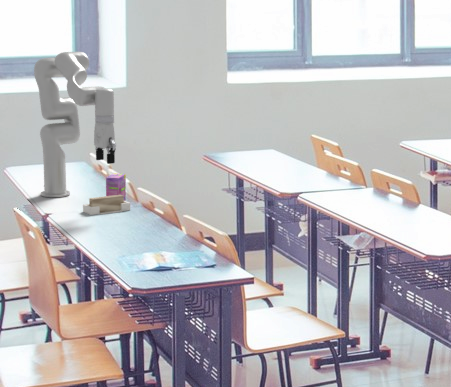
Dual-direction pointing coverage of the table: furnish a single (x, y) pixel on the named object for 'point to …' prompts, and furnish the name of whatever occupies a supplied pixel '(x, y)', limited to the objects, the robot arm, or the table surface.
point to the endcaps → (96, 210)
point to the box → (116, 185)
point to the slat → (107, 203)
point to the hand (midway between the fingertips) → (105, 161)
